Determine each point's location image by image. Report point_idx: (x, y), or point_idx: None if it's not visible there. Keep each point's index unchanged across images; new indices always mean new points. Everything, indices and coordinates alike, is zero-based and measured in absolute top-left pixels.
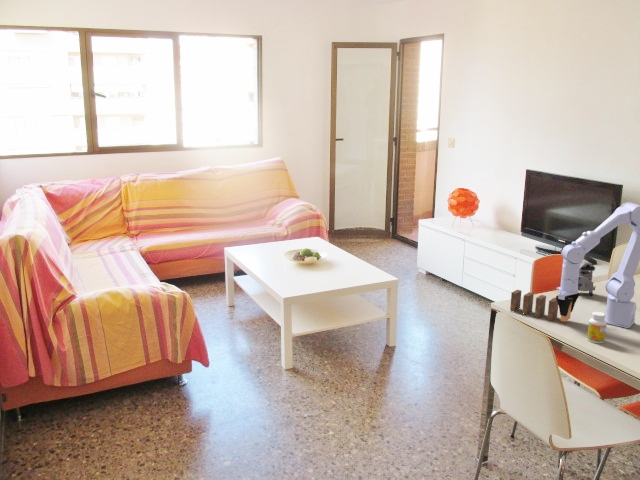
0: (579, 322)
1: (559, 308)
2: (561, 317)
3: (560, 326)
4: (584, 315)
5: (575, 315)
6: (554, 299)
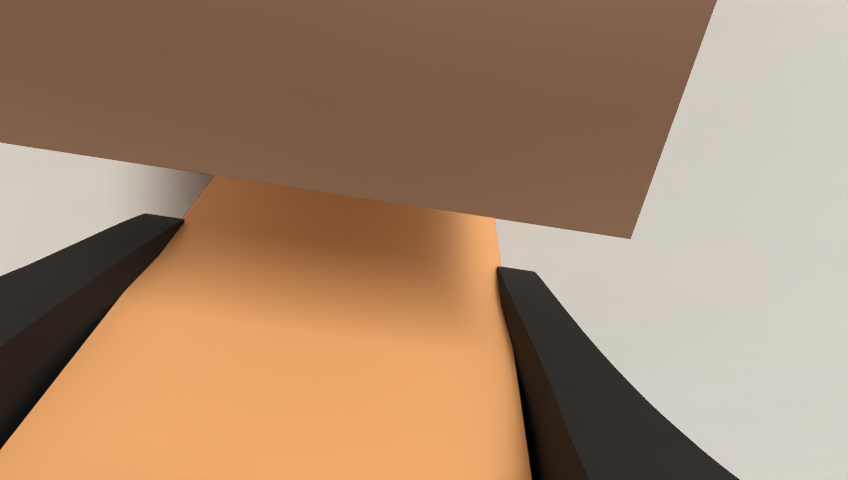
0: None
1: (6, 278)
2: (201, 207)
3: (80, 177)
4: (839, 394)
5: (794, 292)
6: (374, 76)
